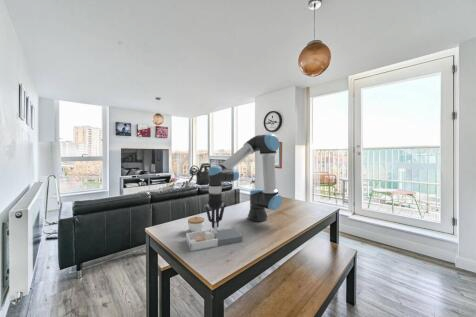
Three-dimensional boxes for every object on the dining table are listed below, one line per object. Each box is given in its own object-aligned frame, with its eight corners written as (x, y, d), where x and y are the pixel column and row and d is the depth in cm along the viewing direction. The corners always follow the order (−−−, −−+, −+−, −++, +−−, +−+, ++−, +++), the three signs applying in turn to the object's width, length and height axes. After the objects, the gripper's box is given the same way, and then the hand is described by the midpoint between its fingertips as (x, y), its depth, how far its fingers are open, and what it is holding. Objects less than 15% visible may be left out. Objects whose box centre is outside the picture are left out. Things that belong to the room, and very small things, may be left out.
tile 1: (195, 236, 116) (195, 241, 116) (196, 240, 111) (196, 244, 111) (203, 235, 118) (203, 239, 118) (205, 238, 113) (205, 243, 113)
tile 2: (211, 236, 119) (212, 232, 119) (213, 239, 115) (214, 235, 115) (203, 235, 118) (204, 231, 118) (205, 238, 113) (206, 234, 113)
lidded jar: (207, 229, 134) (207, 215, 134) (196, 235, 125) (196, 220, 125) (195, 226, 140) (195, 213, 139) (184, 232, 130) (184, 217, 130)
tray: (210, 235, 124) (210, 229, 124) (217, 246, 110) (217, 239, 110) (186, 239, 118) (186, 233, 118) (190, 251, 105) (190, 243, 104)
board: (233, 232, 130) (233, 227, 130) (242, 241, 117) (242, 236, 117) (211, 236, 124) (211, 231, 124) (218, 245, 111) (218, 240, 111)
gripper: (223, 191, 123) (223, 229, 123) (202, 192, 118) (202, 232, 118) (227, 193, 116) (227, 233, 116) (205, 195, 111) (205, 237, 111)
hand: (215, 232), depth 117 cm, fingers closed
